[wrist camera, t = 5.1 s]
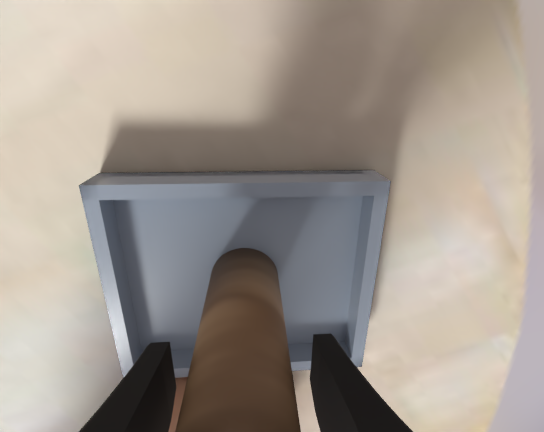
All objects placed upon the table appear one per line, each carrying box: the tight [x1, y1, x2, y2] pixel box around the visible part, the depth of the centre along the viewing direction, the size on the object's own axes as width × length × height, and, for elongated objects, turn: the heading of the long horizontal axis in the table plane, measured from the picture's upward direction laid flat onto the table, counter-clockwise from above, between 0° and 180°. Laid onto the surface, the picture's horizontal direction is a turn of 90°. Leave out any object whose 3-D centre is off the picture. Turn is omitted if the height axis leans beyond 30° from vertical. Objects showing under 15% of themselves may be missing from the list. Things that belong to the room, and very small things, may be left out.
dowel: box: [175, 248, 301, 432], centre depth 12 cm, size 3×3×8 cm
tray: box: [79, 170, 391, 378], centre depth 15 cm, size 12×10×2 cm
